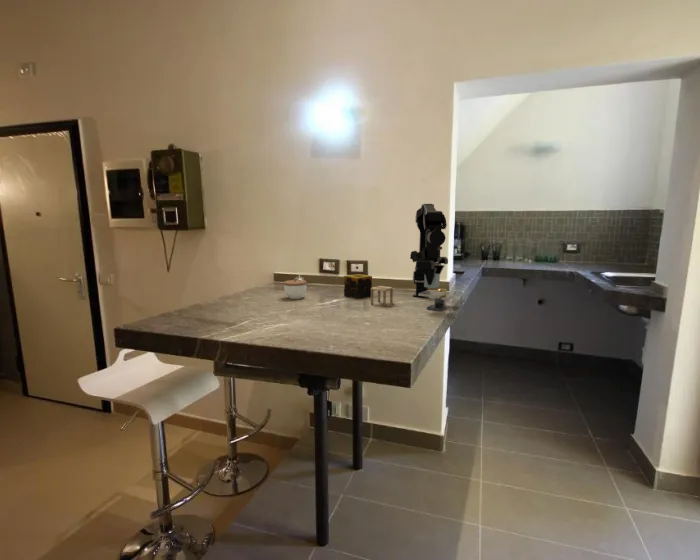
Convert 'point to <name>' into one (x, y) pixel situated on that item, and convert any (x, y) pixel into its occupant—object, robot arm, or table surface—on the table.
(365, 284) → the candle
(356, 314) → the table surface
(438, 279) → the block
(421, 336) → the table surface
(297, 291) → the lidded jar
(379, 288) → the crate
